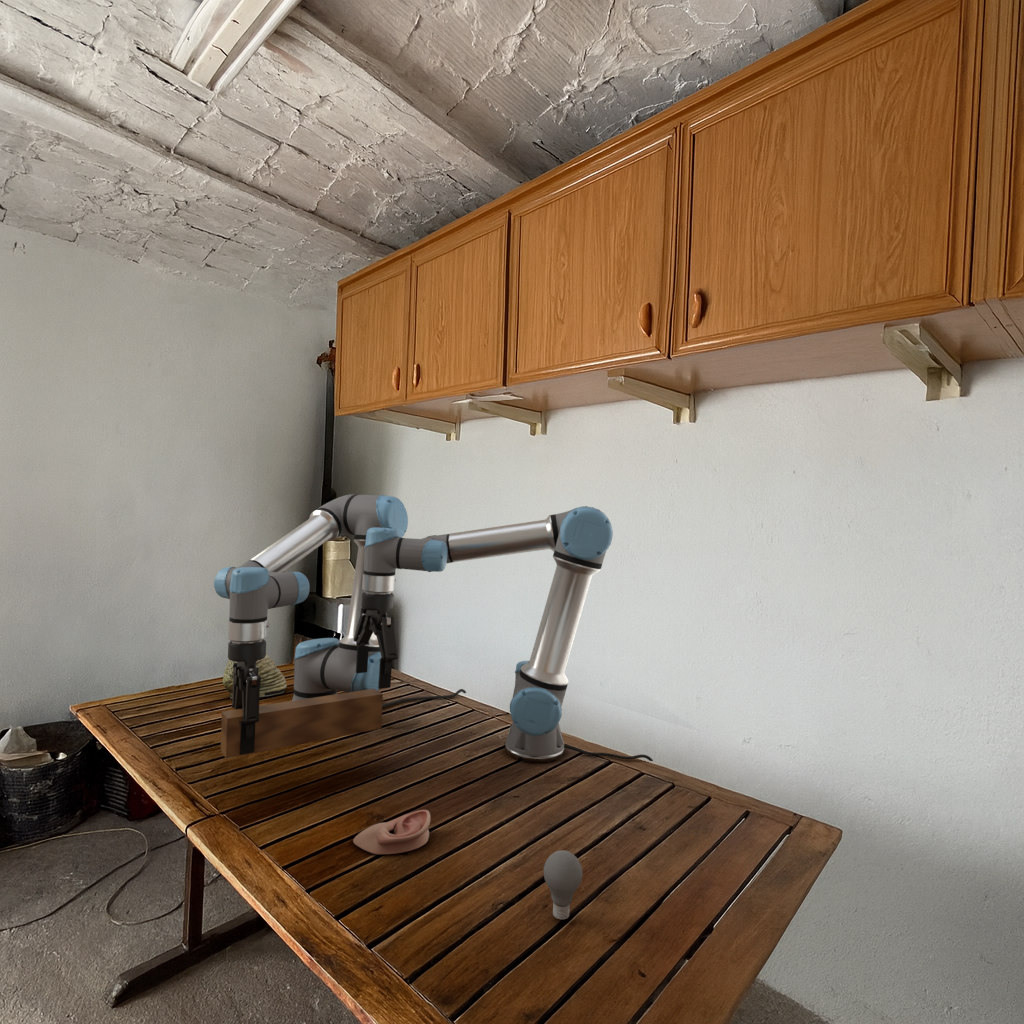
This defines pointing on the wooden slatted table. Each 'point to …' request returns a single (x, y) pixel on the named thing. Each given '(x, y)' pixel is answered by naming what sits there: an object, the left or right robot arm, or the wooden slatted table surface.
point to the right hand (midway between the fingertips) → (372, 680)
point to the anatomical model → (396, 834)
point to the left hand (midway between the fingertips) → (243, 747)
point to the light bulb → (562, 880)
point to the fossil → (269, 675)
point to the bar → (305, 721)
